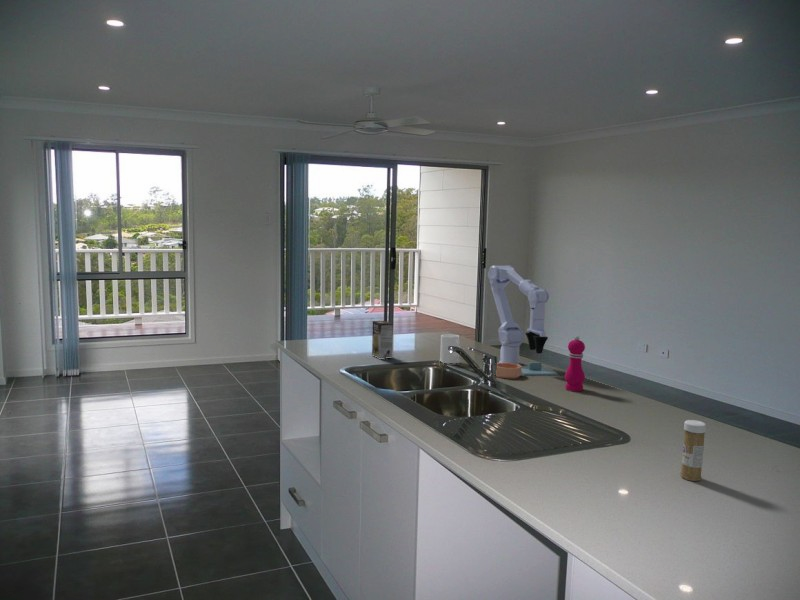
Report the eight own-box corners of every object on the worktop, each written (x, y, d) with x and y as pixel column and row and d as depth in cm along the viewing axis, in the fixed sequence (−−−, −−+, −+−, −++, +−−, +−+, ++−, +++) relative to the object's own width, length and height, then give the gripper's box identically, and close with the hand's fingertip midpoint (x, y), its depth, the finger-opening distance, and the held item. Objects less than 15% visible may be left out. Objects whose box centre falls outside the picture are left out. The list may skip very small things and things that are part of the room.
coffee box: (371, 356, 281) (372, 320, 279) (384, 355, 283) (385, 320, 282) (379, 359, 273) (380, 323, 271) (392, 358, 275) (393, 323, 274)
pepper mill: (582, 387, 231) (585, 334, 229) (586, 392, 224) (589, 337, 222) (562, 386, 232) (565, 333, 229) (565, 391, 224) (568, 337, 222)
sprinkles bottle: (676, 474, 147) (680, 419, 146) (694, 474, 147) (698, 419, 146) (687, 482, 142) (691, 425, 141) (705, 481, 143) (710, 425, 141)
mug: (466, 365, 266) (467, 337, 264) (449, 366, 262) (450, 338, 261) (452, 360, 276) (453, 333, 275) (436, 361, 273) (436, 334, 271)
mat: (509, 368, 261) (509, 367, 261) (546, 368, 264) (546, 367, 263) (522, 377, 246) (522, 376, 246) (560, 376, 248) (560, 375, 248)
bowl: (490, 373, 250) (491, 362, 250) (515, 373, 252) (515, 362, 251) (498, 379, 240) (498, 368, 239) (523, 379, 241) (524, 368, 241)
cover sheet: (513, 367, 260) (513, 359, 260) (544, 367, 262) (545, 359, 262) (523, 375, 247) (524, 366, 246) (557, 375, 249) (557, 366, 248)
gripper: (522, 316, 259) (520, 348, 260) (534, 321, 245) (532, 354, 246) (538, 316, 260) (536, 348, 261) (551, 321, 245) (549, 354, 247)
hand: (535, 351), depth 254 cm, fingers open, 7 cm apart
